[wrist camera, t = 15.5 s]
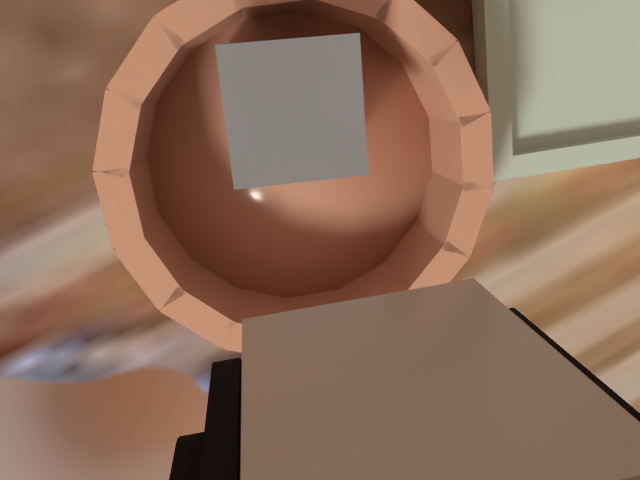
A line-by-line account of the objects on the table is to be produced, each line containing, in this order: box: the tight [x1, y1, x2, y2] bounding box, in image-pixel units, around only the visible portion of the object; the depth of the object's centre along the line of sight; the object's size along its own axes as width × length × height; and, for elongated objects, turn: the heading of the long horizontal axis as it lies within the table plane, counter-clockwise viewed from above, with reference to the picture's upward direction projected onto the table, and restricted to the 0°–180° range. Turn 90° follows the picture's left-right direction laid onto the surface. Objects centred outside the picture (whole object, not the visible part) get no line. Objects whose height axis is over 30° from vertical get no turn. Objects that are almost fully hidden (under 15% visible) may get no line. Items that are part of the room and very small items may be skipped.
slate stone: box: [215, 33, 368, 190], centre depth 20 cm, size 4×4×6 cm
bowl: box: [92, 0, 494, 352], centre depth 22 cm, size 14×14×4 cm
